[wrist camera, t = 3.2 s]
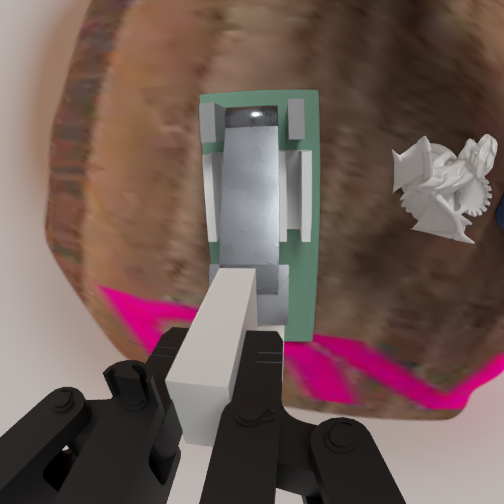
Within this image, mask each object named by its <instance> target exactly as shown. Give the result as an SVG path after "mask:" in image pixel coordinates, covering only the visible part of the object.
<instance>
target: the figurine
mask: <svg viewBox="0 0 504 504" xmlns="http://www.w3.org/2000/svg"><path fill="white" fill-rule="evenodd" d="M497 145H498V144H497V141H496V140H495V139H494V138H493V137H492V136H490V135H488V134H485V135H484V136H483V137H482V138H481V139H480V141H479V142H478V144H477V143H475V142H474V140H472V139H468V140H467V141H466V144H465V147H464V148H463V149H462V151H461V152H460V154H459V156H458V158H457V157H456V155H455V154H454V153H453V152H452V151H451V150H449V149H448V148H446V147H444V146H442V145H439V144H434V143H429V141H428V139H427V138H426V136H423V137H422V138H421V139H419V140H418V141H417V143H416V144H414V145H413V146H412V147H410V148H409V149H408V150H407V151H405V152H404V153H402V154H401V155H398V154H397V153H396V152H395V151H394V150H393V149H392V153H393V156H394V188H393V192H395V191H396V190H398V189H399V188H400V187H401V188H402V190H403V192H404V194H403V195H402V197H401V198H400V201H401V200H403V199H404V200H403V202H402V205H401V207H406V212H409V213H410V212H411V213H412V215H413V217H414V218H416V219H417V220H418V222H417V224H416V225H415V226H414V227H413V228H412V230H417V231H422V232H427V233H430V234H434V235H438V236H442V237H445V238H449V239H452V238H453V239H454V240H457V241H462V242H467V243H472V244H474V243H475V242H474V241H472V240H471V239H469V238H468V237H467V236H466V235H465V234H464V231H465V227H466V225H472V223H471V222H470V221H469V220H468V219H466V218H464V217H463V216H461V214H462V213H464V212H465V213H467V214H468V215H470V216H471V215H472V216H474V217H477V215H479V216H480V215H482V212H481V211H484V212H486V211H487V208H486V207H485V205H488V206H490V203H491V202H489V201H487V200H488V198H491V199H492V194H489V193H488V191H491V186H488V185H487V184H489V181H488V180H487V179H485V177H484V176H485V175H486V174H488V173H489V171H490V170H491V169H492V167H493V164H494V158H495V156H496V152H497Z"/></svg>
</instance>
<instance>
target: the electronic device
mask: <svg viewBox="0 0 504 504" xmlns="http://www.w3.org/2000/svg"><path fill="white" fill-rule="evenodd" d="M496 217H497V223H498V224H499V225H500V226H501V227H502V228H503V229H504V196H503V198H502V200H501V202H500V205H499V207H498V209H497V211H496Z"/></svg>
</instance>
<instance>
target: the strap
mask: <svg viewBox="0 0 504 504" xmlns="http://www.w3.org/2000/svg"><path fill="white" fill-rule="evenodd" d="M219 268H256V292H257V322H258V325H288V299H289V265H279V123H278V105H267V106H244V107H228V108H226V110H225V143H224V160H223V179H222V200H221V224H220V253H219V264H210V268H209V288H210V286H211V284H212V282H213V280H214V278H215V276H216V274H217V272H218V270H219Z"/></svg>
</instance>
